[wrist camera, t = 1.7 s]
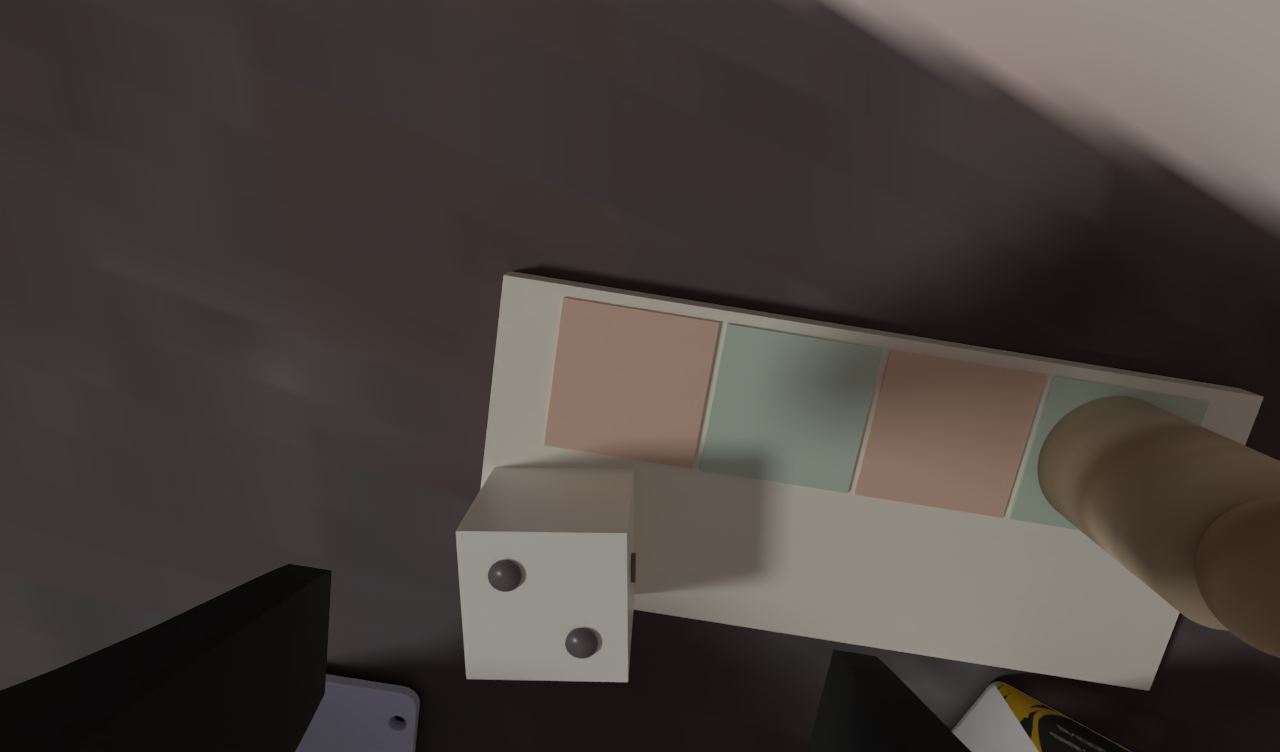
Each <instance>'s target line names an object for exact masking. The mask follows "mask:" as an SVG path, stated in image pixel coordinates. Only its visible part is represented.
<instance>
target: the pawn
mask: <svg viewBox="0 0 1280 752" xmlns="http://www.w3.org/2000/svg"><path fill="white" fill-rule="evenodd" d="M1037 473H1038V481H1039V485H1040V488H1041V491H1042V493H1043V495H1044V496H1045V498H1046V500H1047V501H1048V502H1049V504H1050V505H1051V506H1052V507H1053V508H1054V509H1055V510H1056V511H1057V512H1059V513H1060V514H1061V515H1062V516H1063V517H1065V518H1066V519H1067V520H1068V521H1069V522H1071V523H1072V524H1073V525H1074V526H1075V527H1077V528H1078V529H1079V530H1080V531H1082V532H1083V533H1084V534H1085V535H1086V536H1088V537H1089V538H1090V539H1091V540H1092V541H1094V542H1095V543H1096V544H1097V545H1099V546H1100V547H1101V548H1102V549H1103V550H1105V551H1106V552H1107V553H1108V554H1109V555H1111V556H1112V557H1113V558H1114V559H1116V560H1117V561H1118V562H1119V563H1120V564H1122V565H1123V566H1124V567H1125V568H1126V569H1128V570H1129V571H1130V572H1131V573H1132V574H1134V575H1135V576H1136V577H1137V578H1139V579H1140V580H1141V581H1142V582H1143V583H1145V584H1146V585H1147V586H1148V587H1149V588H1151V589H1152V590H1153V591H1154V592H1156V593H1157V594H1158V595H1159V596H1160V597H1162V598H1163V599H1164V600H1165V601H1166V602H1168V603H1169V604H1170V605H1171V606H1173V607H1174V608H1175V609H1176V610H1177V611H1179V612H1180V613H1181V614H1183V615H1184V616H1185V617H1187V618H1188V619H1190V620H1192V621H1194V622H1196V623H1198V624H1200V625H1203V626H1206V627H1209V628H1214V629H1218V630H1227V631H1230V632H1231V633H1233V634H1234V635H1235V636H1237V637H1238V638H1240V639H1241V640H1242V641H1244V642H1245V643H1247V644H1249V645H1251V646H1253V647H1255V648H1257V649H1259V650H1261V651H1263V652H1265V653H1267V654H1270V655H1273V656H1276V657H1279V658H1280V461H1278V460H1276V459H1274V458H1272V457H1269V456H1267V455H1265V454H1263V453H1260V452H1258V451H1256V450H1254V449H1251V448H1249V447H1247V446H1245V445H1242V444H1240V443H1238V442H1236V441H1233V440H1231V439H1229V438H1227V437H1224V436H1222V435H1220V434H1218V433H1215V432H1213V431H1211V430H1209V429H1206V428H1204V427H1202V426H1200V425H1197V424H1195V423H1193V422H1191V421H1188V420H1186V419H1184V418H1182V417H1179V416H1177V415H1175V414H1173V413H1170V412H1168V411H1166V410H1164V409H1161V408H1159V407H1157V406H1155V405H1152V404H1150V403H1148V402H1145V401H1143V400H1140V399H1137V398H1132V397H1125V396H1110V397H1103V398H1099V399H1095V400H1092V401H1089V402H1087V403H1084V404H1082V405H1080V406H1078V407H1076V408H1075V409H1073V410H1072V411H1070V412H1069V413H1067V414H1066V415H1065V416H1064V417H1063V418H1061V419H1060V420H1059V421H1058V422H1057V423H1056V425H1055V426H1054V427H1053V428H1052V429H1051V431H1050V432H1049V434H1048V435H1047V437H1046V439H1045V441H1044V443H1043V445H1042V448H1041V450H1040V454H1039V458H1038V466H1037Z"/></svg>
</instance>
